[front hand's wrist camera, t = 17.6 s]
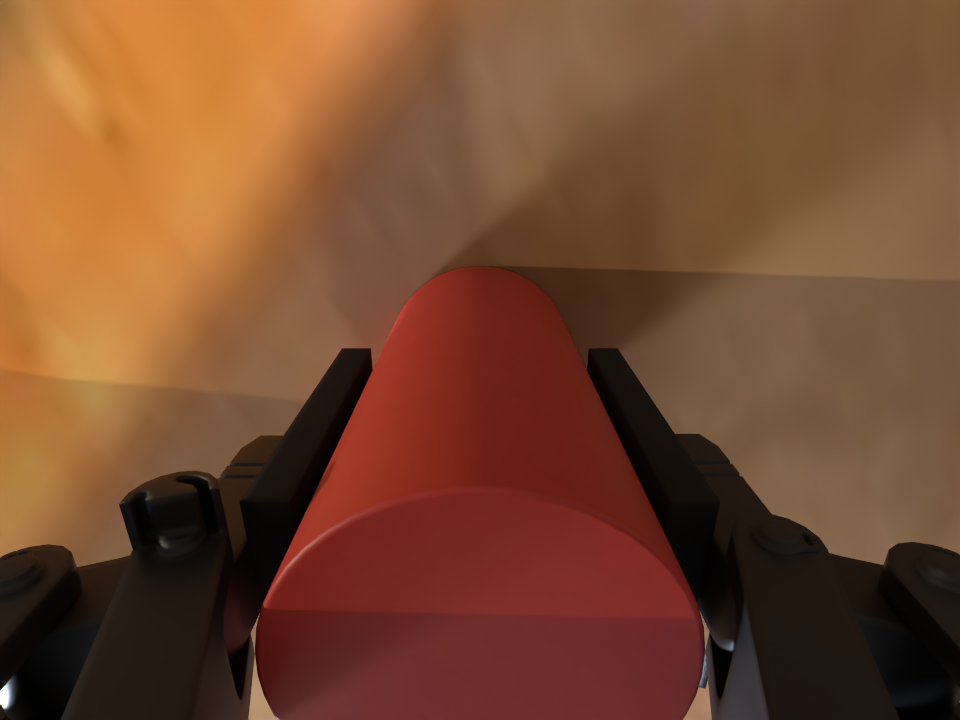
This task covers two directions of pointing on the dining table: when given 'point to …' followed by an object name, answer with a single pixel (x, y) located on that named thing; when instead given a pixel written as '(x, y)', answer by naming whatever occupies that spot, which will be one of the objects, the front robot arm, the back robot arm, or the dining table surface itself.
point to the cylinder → (479, 538)
